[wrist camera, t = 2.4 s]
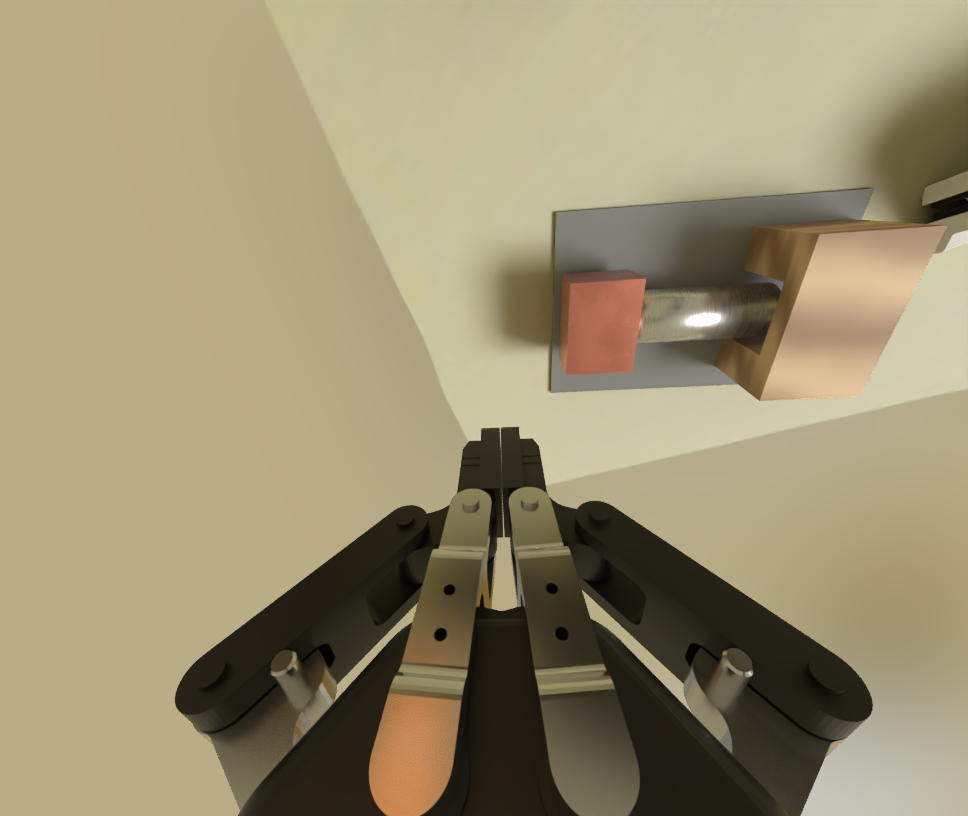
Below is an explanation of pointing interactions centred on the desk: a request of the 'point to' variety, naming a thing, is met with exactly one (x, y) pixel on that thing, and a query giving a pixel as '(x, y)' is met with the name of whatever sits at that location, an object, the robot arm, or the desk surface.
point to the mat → (677, 268)
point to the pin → (651, 317)
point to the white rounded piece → (961, 220)
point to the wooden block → (828, 304)
